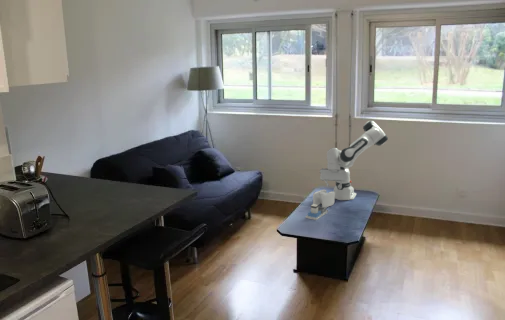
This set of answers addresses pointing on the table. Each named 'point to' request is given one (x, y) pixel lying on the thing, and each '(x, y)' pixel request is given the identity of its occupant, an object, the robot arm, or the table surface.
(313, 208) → the plug
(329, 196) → the cable organizer
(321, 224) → the table surface
